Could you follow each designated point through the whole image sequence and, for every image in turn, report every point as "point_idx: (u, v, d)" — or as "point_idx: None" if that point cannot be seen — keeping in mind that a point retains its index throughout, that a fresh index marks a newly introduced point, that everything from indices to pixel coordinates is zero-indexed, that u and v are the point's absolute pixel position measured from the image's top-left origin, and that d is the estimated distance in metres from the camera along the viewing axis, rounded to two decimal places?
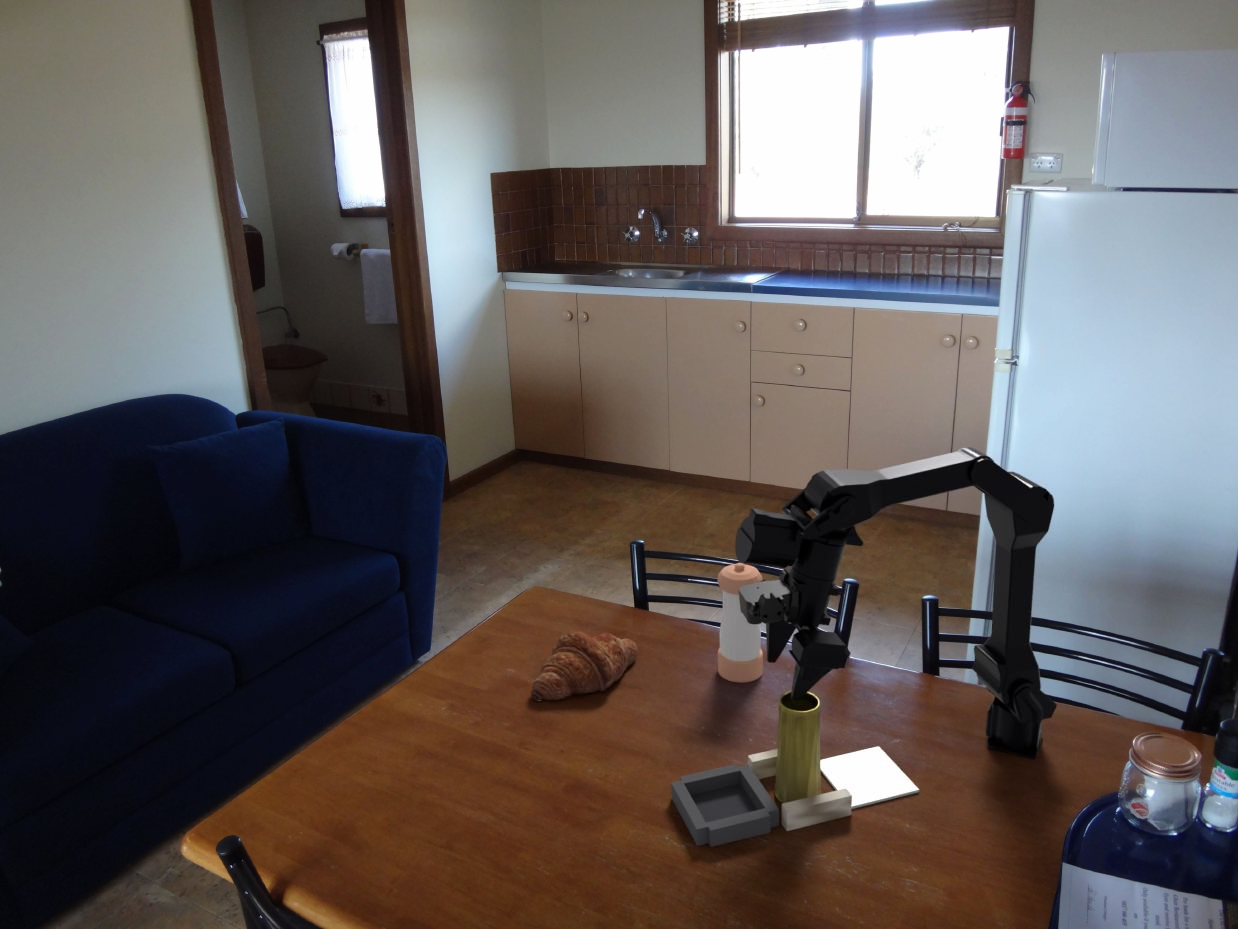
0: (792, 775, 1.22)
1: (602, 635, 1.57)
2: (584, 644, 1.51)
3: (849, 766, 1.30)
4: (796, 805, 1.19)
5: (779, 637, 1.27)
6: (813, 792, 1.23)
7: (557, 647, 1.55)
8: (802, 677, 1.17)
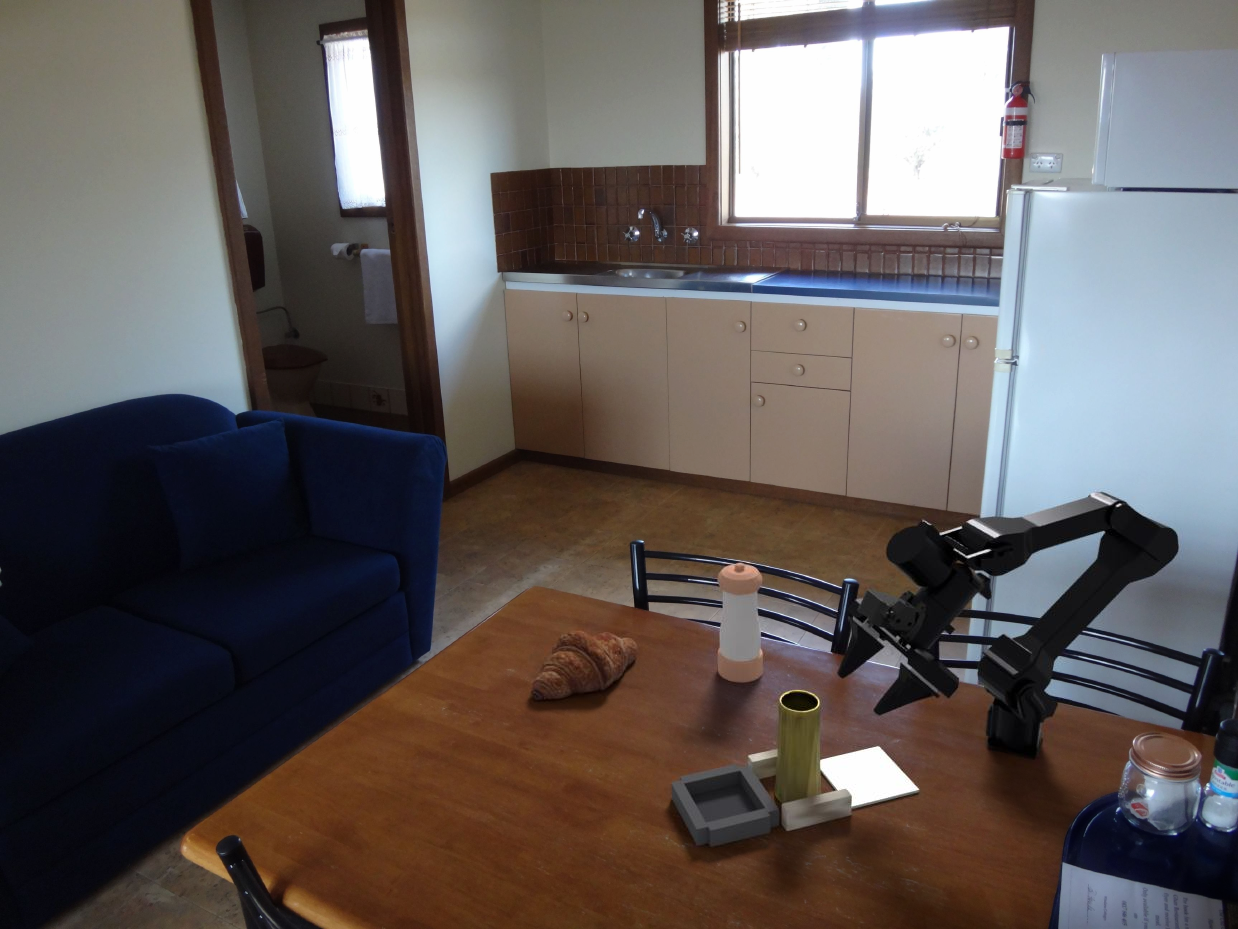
0: (792, 775, 1.22)
1: (602, 634, 1.57)
2: (584, 643, 1.51)
3: (849, 766, 1.30)
4: (796, 805, 1.19)
5: (858, 656, 1.27)
6: (813, 792, 1.23)
7: (557, 646, 1.55)
8: (898, 693, 1.17)
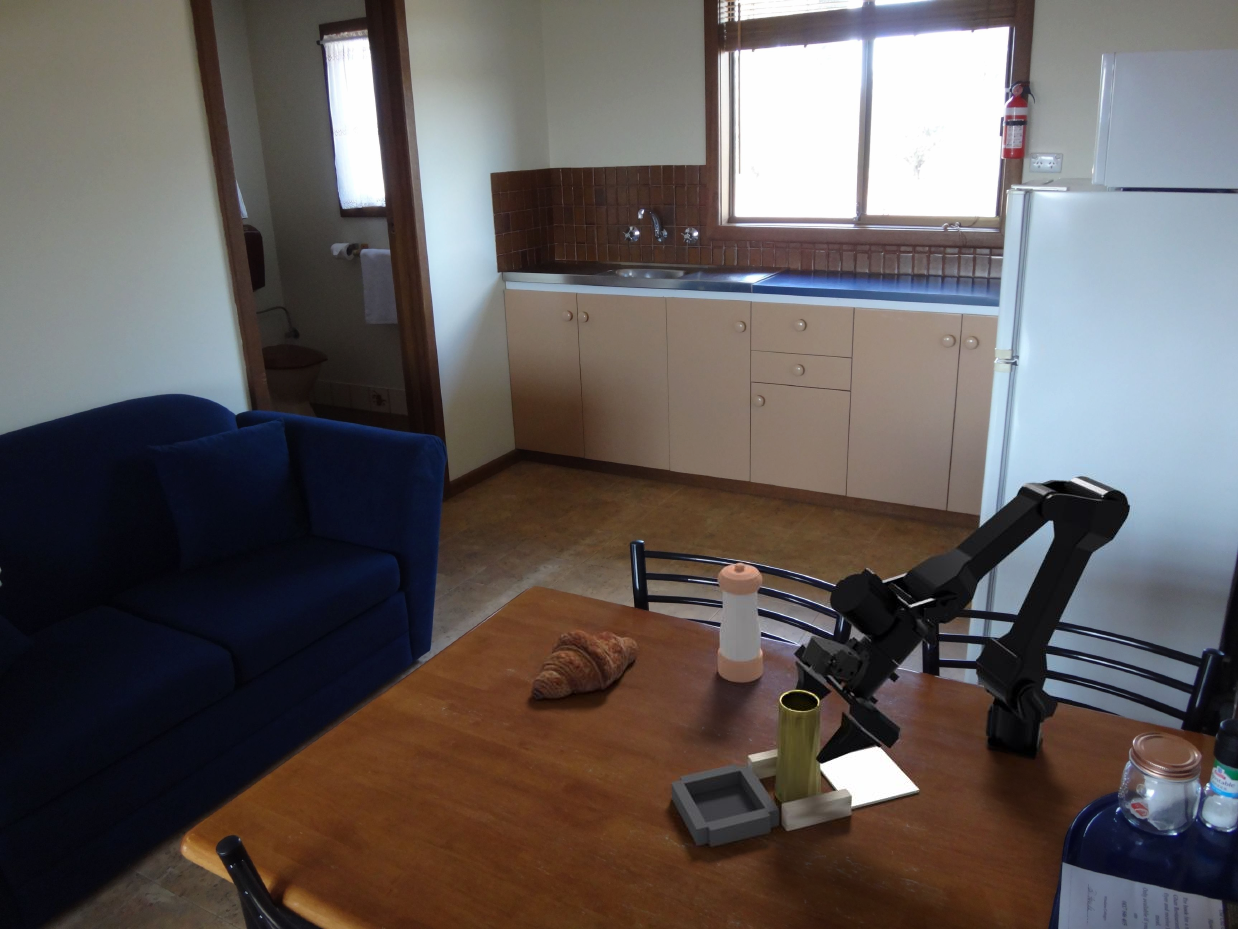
0: (792, 775, 1.22)
1: (602, 634, 1.57)
2: (585, 643, 1.51)
3: (849, 766, 1.30)
4: (796, 805, 1.19)
5: None
6: (813, 792, 1.23)
7: (557, 646, 1.55)
8: (840, 742, 1.17)
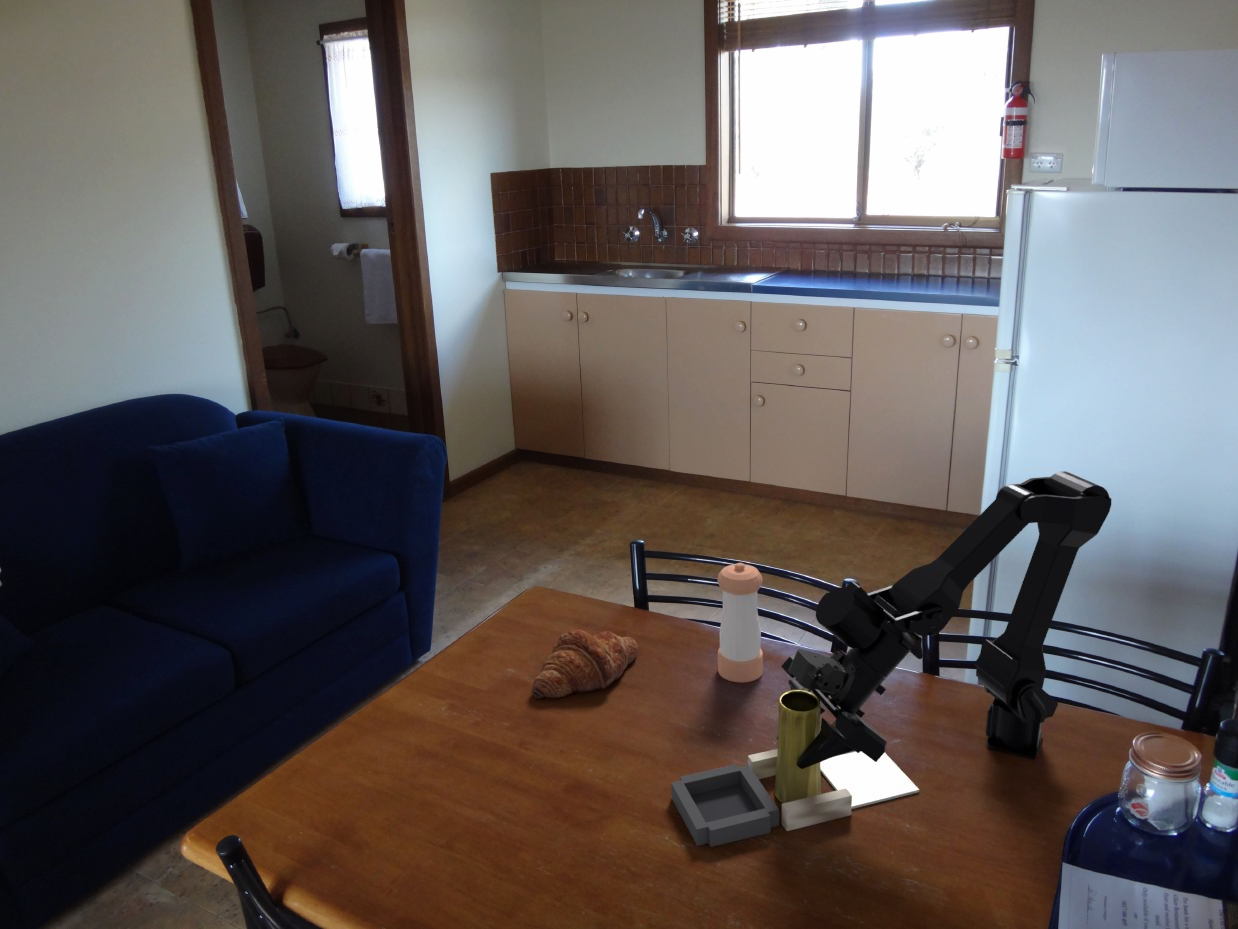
0: (792, 775, 1.22)
1: (603, 633, 1.57)
2: (585, 642, 1.52)
3: (849, 766, 1.30)
4: (796, 805, 1.19)
5: None
6: (813, 792, 1.23)
7: (558, 645, 1.55)
8: (820, 748, 1.19)
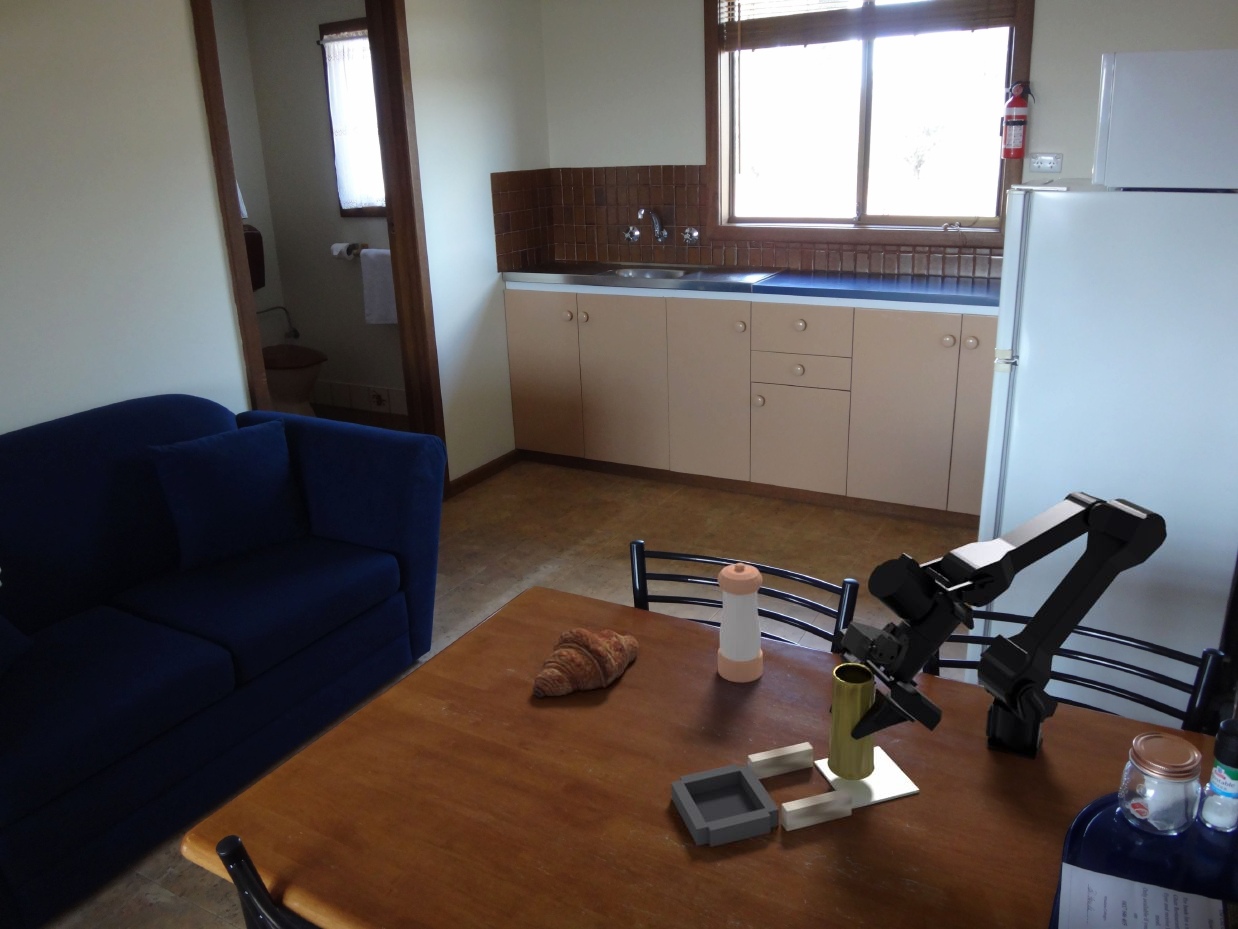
0: (847, 747, 1.23)
1: (604, 632, 1.58)
2: (586, 641, 1.52)
3: None
4: (796, 805, 1.19)
5: None
6: (867, 764, 1.24)
7: (559, 644, 1.56)
8: (874, 718, 1.20)
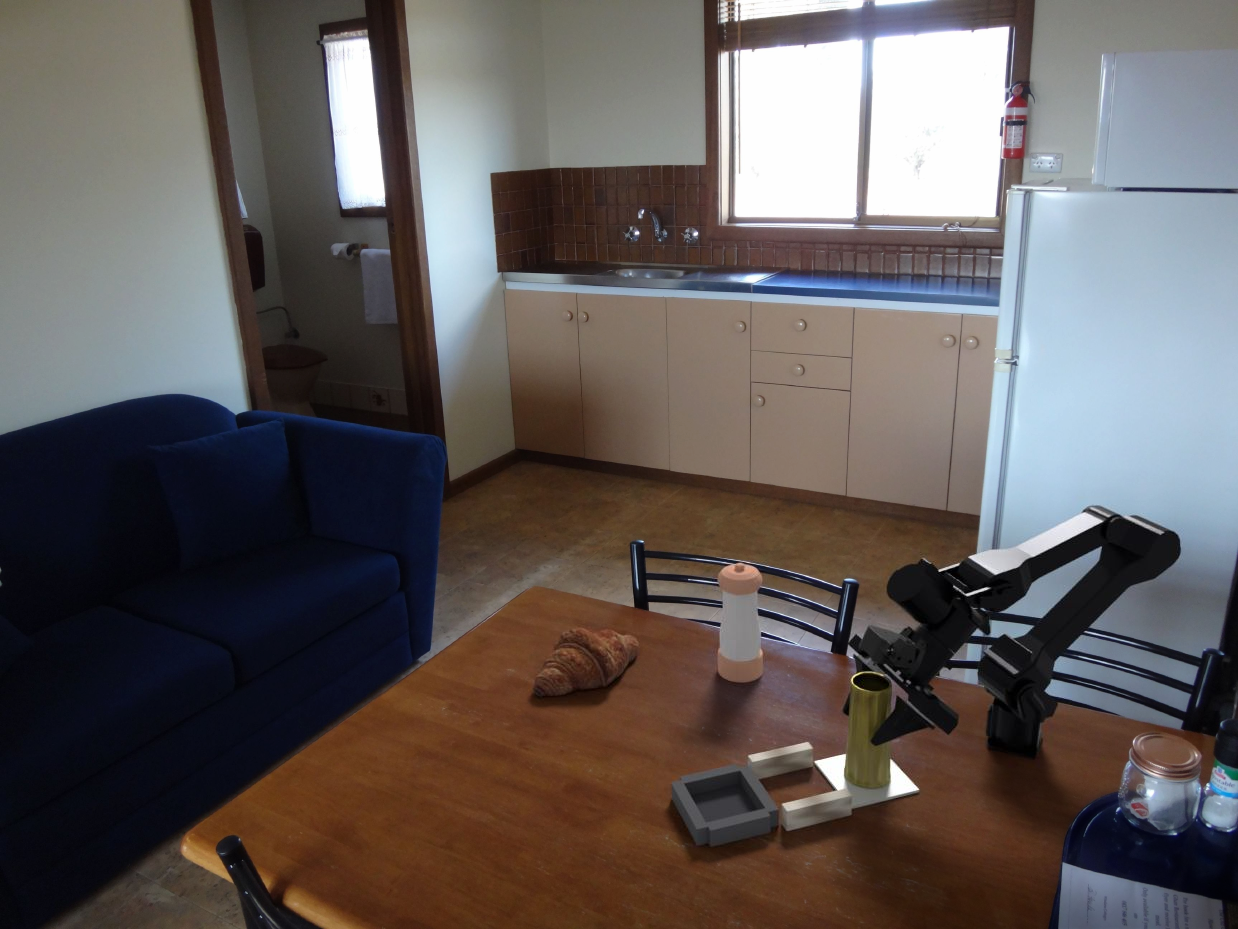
0: (863, 754, 1.24)
1: (604, 631, 1.58)
2: (586, 640, 1.52)
3: None
4: (796, 805, 1.19)
5: None
6: (883, 772, 1.25)
7: (559, 643, 1.56)
8: (894, 725, 1.20)
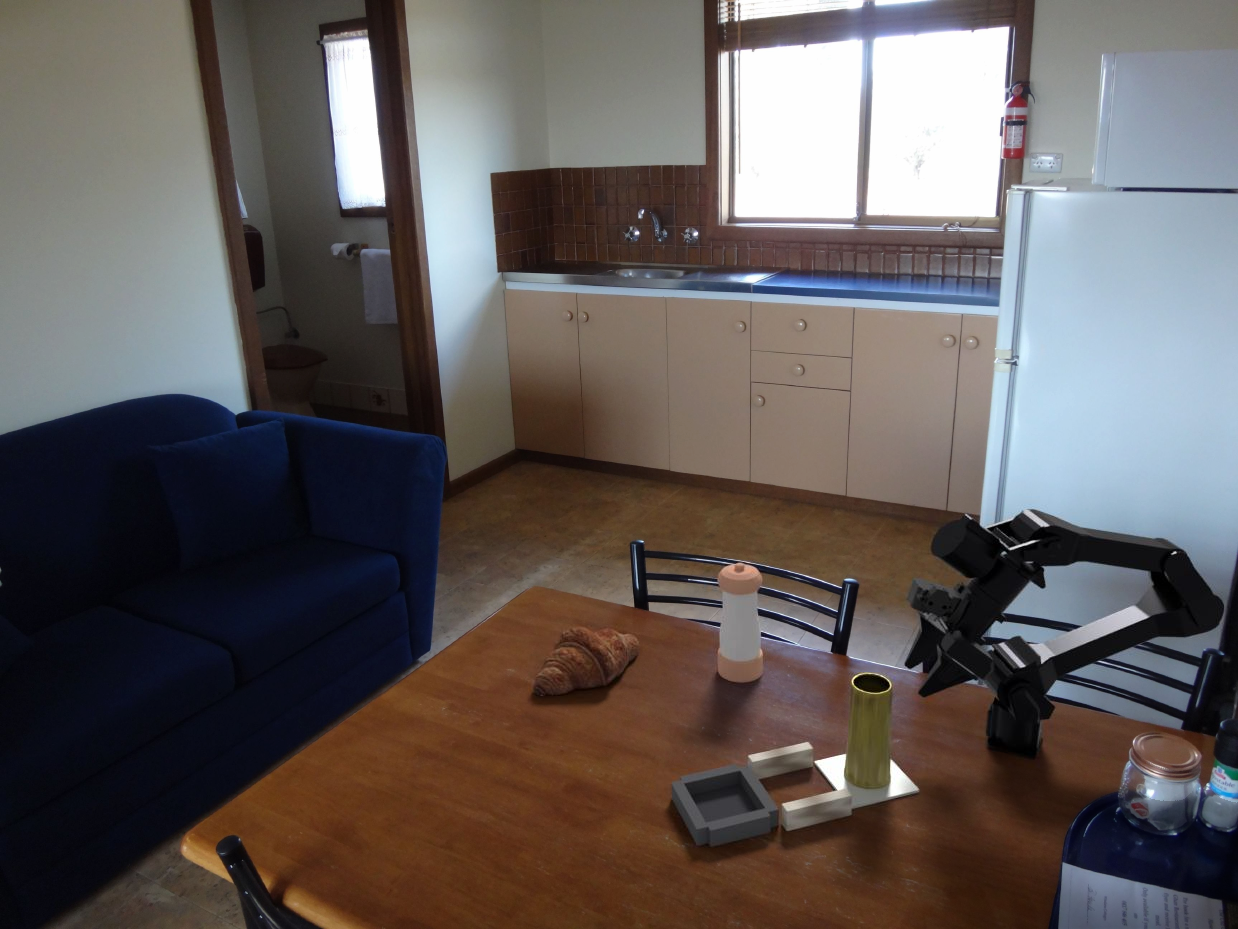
0: (864, 755, 1.24)
1: (604, 630, 1.58)
2: (586, 639, 1.53)
3: None
4: (796, 805, 1.19)
5: (925, 648, 1.33)
6: (883, 773, 1.25)
7: (559, 642, 1.56)
8: (938, 675, 1.23)
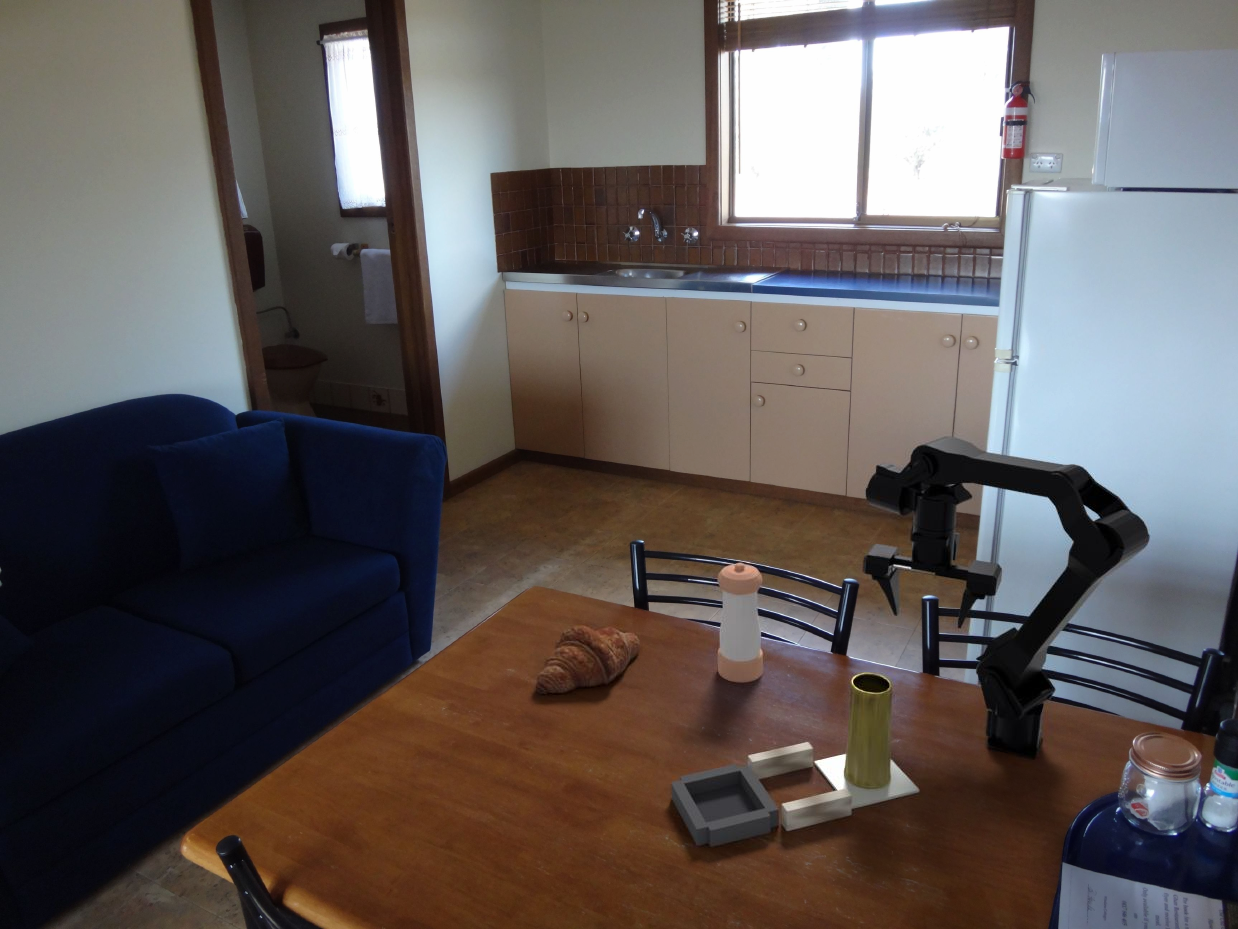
0: (864, 755, 1.24)
1: (605, 629, 1.59)
2: (588, 638, 1.53)
3: None
4: (796, 805, 1.19)
5: None
6: (883, 773, 1.25)
7: (561, 641, 1.57)
8: None
